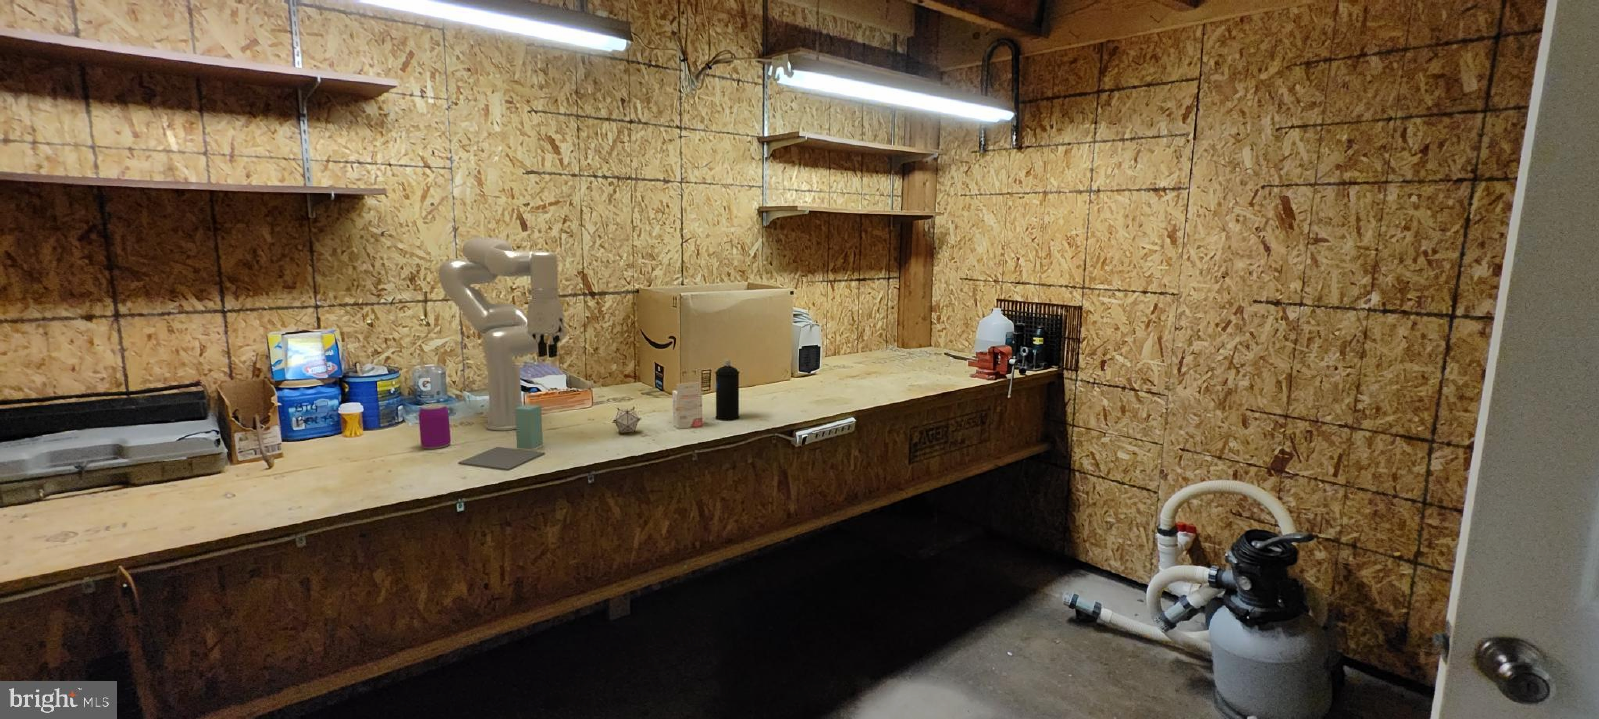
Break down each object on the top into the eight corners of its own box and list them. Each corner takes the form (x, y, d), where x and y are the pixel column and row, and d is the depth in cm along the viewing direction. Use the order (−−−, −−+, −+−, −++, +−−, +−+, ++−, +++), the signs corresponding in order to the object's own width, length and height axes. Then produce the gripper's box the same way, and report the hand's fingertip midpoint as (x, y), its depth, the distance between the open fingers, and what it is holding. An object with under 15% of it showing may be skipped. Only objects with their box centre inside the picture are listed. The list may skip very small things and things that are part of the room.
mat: (458, 463, 190) (458, 462, 190) (497, 448, 204) (497, 446, 204) (508, 470, 186) (508, 468, 185) (544, 454, 200) (544, 452, 200)
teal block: (517, 448, 204) (514, 408, 202) (528, 444, 209) (526, 404, 207) (531, 450, 203) (529, 409, 201) (543, 445, 207) (541, 405, 205)
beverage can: (445, 440, 211) (442, 401, 209) (454, 446, 206) (452, 405, 204) (417, 445, 206) (414, 405, 204) (426, 451, 200) (423, 410, 198)
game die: (630, 445, 221) (631, 425, 214) (606, 434, 222) (606, 414, 215) (645, 426, 228) (647, 406, 221) (621, 415, 229) (622, 395, 222)
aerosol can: (744, 417, 243) (744, 359, 240) (729, 422, 236) (729, 363, 233) (725, 413, 248) (725, 357, 244) (710, 418, 241) (709, 360, 237)
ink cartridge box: (697, 422, 235) (697, 379, 233) (702, 426, 231) (702, 381, 228) (672, 425, 231) (671, 381, 229) (677, 429, 227) (676, 384, 225)
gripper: (513, 294, 206) (516, 356, 210) (560, 296, 202) (563, 360, 205) (529, 292, 214) (533, 353, 217) (576, 294, 209) (579, 356, 212)
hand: (547, 356), depth 211 cm, fingers open, 2 cm apart
